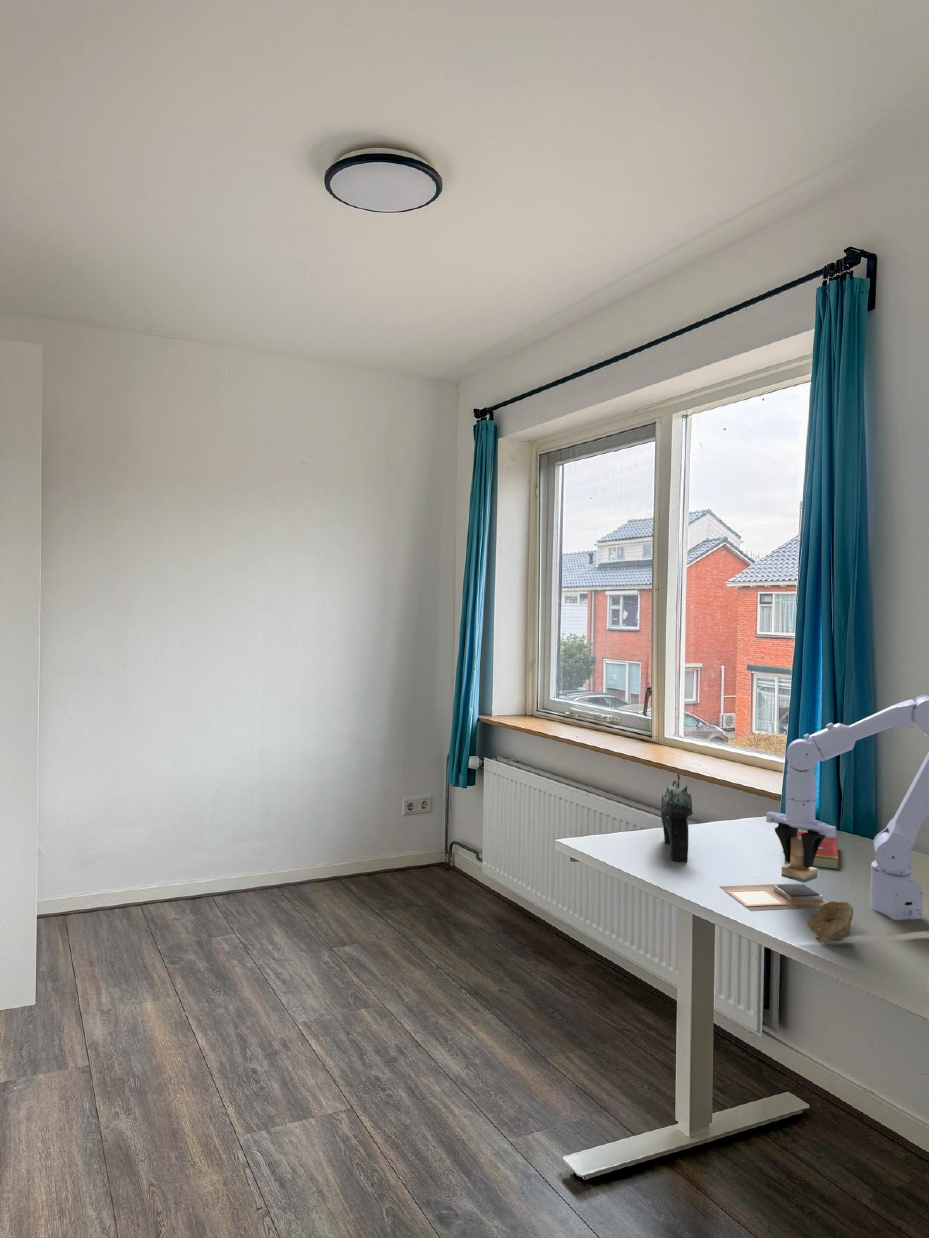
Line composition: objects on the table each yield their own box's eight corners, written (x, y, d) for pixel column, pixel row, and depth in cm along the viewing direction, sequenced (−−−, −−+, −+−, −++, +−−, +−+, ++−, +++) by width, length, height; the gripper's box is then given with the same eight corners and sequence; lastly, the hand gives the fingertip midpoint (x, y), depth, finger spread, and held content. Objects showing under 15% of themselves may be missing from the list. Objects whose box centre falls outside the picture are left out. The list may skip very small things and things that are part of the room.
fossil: (824, 895, 164) (859, 902, 155) (840, 912, 164) (875, 920, 155) (797, 930, 162) (830, 940, 152) (812, 947, 162) (847, 958, 152)
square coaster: (788, 905, 172) (788, 904, 172) (745, 906, 170) (745, 905, 170) (765, 889, 181) (765, 888, 181) (725, 891, 179) (725, 890, 179)
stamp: (817, 877, 177) (817, 839, 177) (804, 882, 174) (804, 843, 174) (794, 871, 181) (795, 833, 181) (781, 876, 178) (782, 837, 178)
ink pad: (823, 900, 175) (823, 894, 175) (791, 902, 174) (791, 896, 173) (804, 888, 182) (804, 883, 181) (773, 890, 180) (773, 884, 180)
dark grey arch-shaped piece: (693, 864, 200) (695, 779, 199) (664, 863, 201) (666, 778, 200) (681, 840, 220) (683, 762, 219) (655, 839, 220) (657, 761, 220)
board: (835, 911, 171) (835, 906, 171) (750, 915, 168) (750, 910, 168) (797, 887, 185) (797, 883, 185) (718, 891, 182) (718, 886, 182)
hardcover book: (837, 850, 215) (837, 833, 215) (838, 875, 195) (839, 857, 195) (786, 844, 219) (786, 827, 219) (782, 868, 200) (783, 850, 200)
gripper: (844, 802, 174) (843, 869, 174) (780, 789, 185) (778, 851, 185) (825, 807, 169) (823, 876, 170) (760, 793, 181) (759, 857, 181)
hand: (799, 863), depth 177 cm, fingers closed on stamp, 4 cm apart
